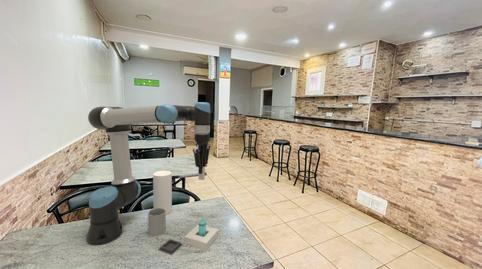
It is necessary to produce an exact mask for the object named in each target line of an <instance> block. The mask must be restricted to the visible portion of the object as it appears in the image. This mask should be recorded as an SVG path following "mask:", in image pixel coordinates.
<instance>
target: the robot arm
mask: <svg viewBox="0 0 482 269" xmlns="http://www.w3.org/2000/svg"><path fill="white" fill-rule="evenodd" d="M87 119H88V120H87V121H88V122H89V125H91V126H92V128H95V129H97V130H100V131H101V130H102V131H105V133H106V134H107V135H108V136H109V143H110V144H109V145H110V151H111V152H110V154H111V160H112V161H111V162H112V170H113V180H112V181H111V186H105V187H100V188H97V189H96V190H94V191H93V192H92V193H90V195H89V200H88V201H89V202H88V206H89V208H88V209H89V220H90V222H89V223H90V224H89V227H88V231H87V233H86V242H87V243H88V244H89V245H91V246H92V245H93V246H101V245H105V244H108V243H111V242H113V241H115V240H117V239H118V238H120V237H121V236H122V234H123V233H124V229H123V227H124V226H123V224H122V222H121V221H120V218H119V210H121V209H122V208H123V207H126V206H127V205H128V204H131V203H133V202H134V201H135V200H136V199H138V197H139V196H140V194H141V191H142V189H141V184H140V183H139V181H138V180H136V177H134V176H133V174H132V173H133V172H132V164H131V163H132V162H131V155H130V154H131V153H130V143H129V134H130V133H131V131H132V130H131V127H132V126H133V125H140V124H154V123H155V124H156V123H158V124H159V123H172V122H173V123H174V122H194V142H196V143H195V148H192V152H193V155H194V156H193V157H194V163H195V167H196V168H198V171H197V172H198V180H201V181H204V180H205V178H206V176H205V175H206V174H205V173H206V167H208V162H209V156H210V151H211V145H209V144H208V143H209V142H210V141H211V140H210V138H211V134H210V132H211V104H210V103H209V102H205V101H203V102H201V101H200V102H199V101H195V103H194V105H191V106H190V105H175V104H168V103H166V104H161V105H153V106H152V105H149V106H138V107H135V106H134V107H122V106H97V107H94V108H92V109H91V110H90V111H89V113H88V116H87Z"/></svg>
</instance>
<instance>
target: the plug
mask: <svg viewBox="0 0 482 269" xmlns="http://www.w3.org/2000/svg"><path fill="white" fill-rule="evenodd" d="M198 224H199V236H202V237H204V236H205V235H206V226H207V220H206V219H200V220H198Z"/></svg>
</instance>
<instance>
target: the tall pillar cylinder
mask: <svg viewBox="0 0 482 269" xmlns="http://www.w3.org/2000/svg"><path fill="white" fill-rule="evenodd" d="M172 176H173V174H172V172H171V171H169V170H158V171H155V172H153V174H152V188H153V189H152V190H153V192H152V194H153V198H152V199H153V204H152V205H153V209H156V208H162V209H165V211H166V216H167V215H169V214H171V213H172V211H173V210H172V208H173V207H172V206H173V205H172V204H173V200H172V198H173V195H172V192H173V190H172V189H173V187H172V186H173V185H172V184H173V182H172V181H173V179H172V178H173V177H172Z"/></svg>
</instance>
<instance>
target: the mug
mask: <svg viewBox="0 0 482 269" xmlns="http://www.w3.org/2000/svg"><path fill="white" fill-rule="evenodd" d="M166 217H167V215H166V211H165V209H162V208H156V209H154V208H153V209H151V210H149V211H148V214H147V223H148V225H147V226H148V228H147V230H148V232H147V233H148V234H149V235H150V236H159V235H162V234H164V233H165V232H166V230H167V227H166V226H167V222H166V221H167V220H166Z"/></svg>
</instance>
